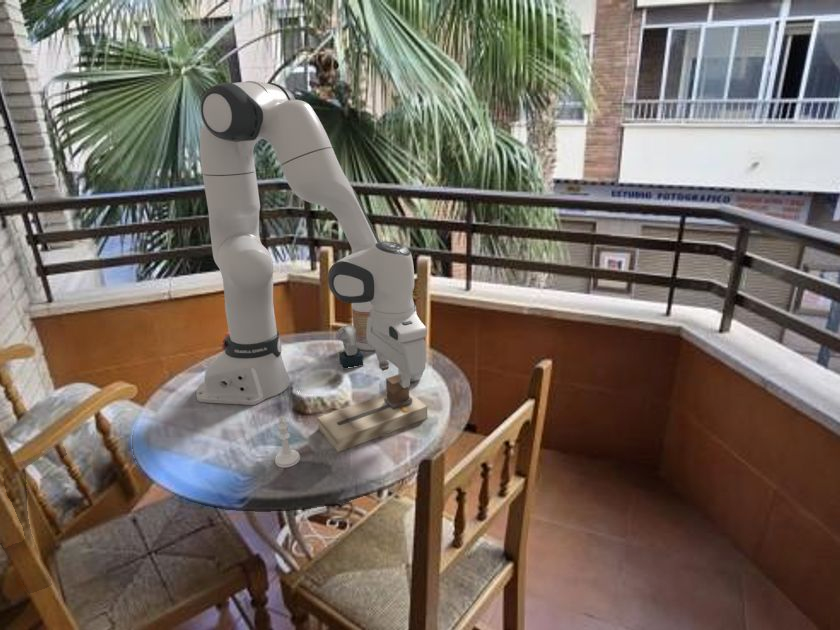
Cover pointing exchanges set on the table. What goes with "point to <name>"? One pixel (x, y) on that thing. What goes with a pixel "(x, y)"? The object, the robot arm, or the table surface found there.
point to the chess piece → (286, 448)
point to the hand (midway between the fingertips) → (393, 377)
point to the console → (368, 421)
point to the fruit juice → (361, 323)
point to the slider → (396, 393)
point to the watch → (349, 347)
